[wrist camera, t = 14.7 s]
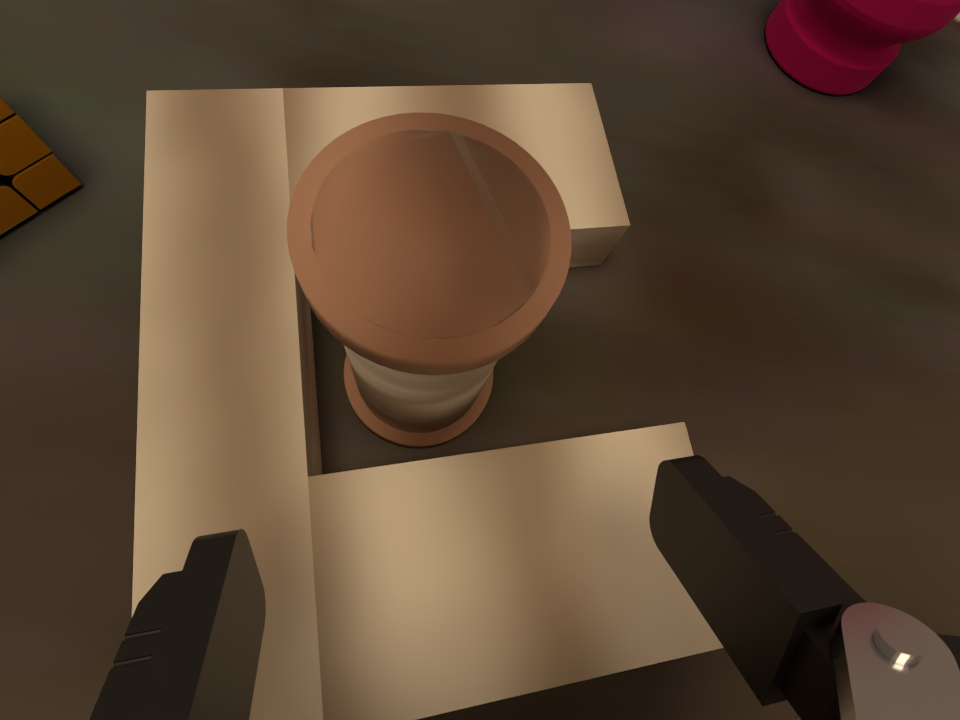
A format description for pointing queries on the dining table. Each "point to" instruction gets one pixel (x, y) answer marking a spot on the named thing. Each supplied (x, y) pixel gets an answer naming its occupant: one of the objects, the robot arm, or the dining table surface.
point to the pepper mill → (848, 37)
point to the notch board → (385, 489)
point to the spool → (426, 264)
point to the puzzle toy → (27, 171)
